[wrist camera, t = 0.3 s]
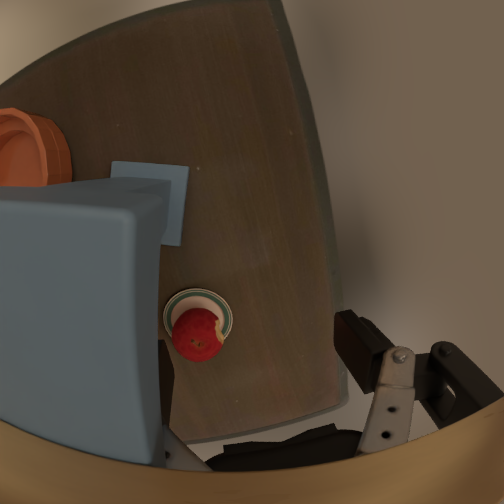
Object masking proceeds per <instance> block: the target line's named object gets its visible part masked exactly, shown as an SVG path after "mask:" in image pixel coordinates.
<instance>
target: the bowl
mask: <svg viewBox="0 0 504 504" xmlns="http://www.w3.org/2000/svg"><path fill="white" fill-rule="evenodd" d="M69 182H72V165H71V155H70V150H69V148H68V145H67V142H66V140H65V137H64V134H63V132H62V131H61V130H60V129H59V128H58V127H57V125H56V124H55V123H54V122H53V121H52V120H51V119H49V118H46V117H44V116H42V115H40V114H36V113H33V112H29V111H25V110H21V109H16V108H6V109H0V186H22V187H41V186H47V185H54V184H61V183H69Z"/></svg>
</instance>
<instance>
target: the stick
mask: <svg viewBox="0 0 504 504" xmlns="http://www.w3.org/2000/svg"><path fill="white" fill-rule="evenodd" d="M503 500H504V397H502V398H500V399H499V400H497V401H495V402H494V403H492V404H490V405H488V406H487V407H485V408H483V409H481V410H479V411H477V412H476V413H474V414H472V415H470V416H468V417H466V418H464V419H462V420H460V421H457V422H455V423H453V424H451V425H449V426H447V427H444V428H442V429H440V430H437V431H435V432H432V433H430V434H427V435H425V436H422V437H420V438H417V439H414V440H411V441H409V442H406V443H403V444H400V445H397V446H394V447H390V448H387V449H384V450H380V451H377V452H373V453H369V454H366V455H362V456H358V457H353V458H349V459H344V460H340V461H335V462H329V463H324V464H318V465H312V466H305V467H297V468H288V469H278V470H266V471H246V472H211V471H191V470H178V469H169V468H160V467H153V466H146V465H140V464H134V463H128V462H123V461H118V460H114V459H109V458H105V457H101V456H97V455H93V454H89V453H85V452H82V451H78V450H75V449H72V448H69V447H66V446H63V445H60V444H57V443H54V442H51V441H48V440H46V439H43V438H40V437H38V436H35V435H33V434H30V433H28V432H26V431H23V430H21V429H19V428H17V427H14V426H12V425H10V424H8V423H6V422H4V421H2V420H0V504H499V503H500V502H502V501H503Z"/></svg>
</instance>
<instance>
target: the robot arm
mask: <svg viewBox="0 0 504 504" xmlns="http://www.w3.org/2000/svg"><path fill="white" fill-rule="evenodd" d="M334 346H335V349H336V351H337V353H338V355H339V356H340V358H341V359H342V361H343V362H344V364H345V365H346V367H347V368H348V370H349V371H350V373H351V374H352V376H353V377H354V379H355V380H356V382H357V383H358V385H359V386H360V388H361V389H362V391H363V393H364V394H368V393H371V392H374V397H373V401H372V404H371V408H370V411H369V414H368V418H367V421H366V424H365V427H364V431H363V432H360V431H355V430H337V428H336V426H335V424H334V423H332V424H329V425H325V426H322V427H318V428H314V429H310V430H307V431H305V432H303V433H301V434H299V435H296V436H295V437H292V438H290V439H287V440H285V441H282V442H253V441H251V442H244V443H237V444H229V445H223V448H224V453H221V454H218V455H216V456H214V457H212V458H210V459H208V460H207V461H205V462H203V461H202V460H201V459H200V458H199V457H198V456H197V455H196V454H195V453H194V452H192V451H191V450H190V449H189V448H188V447H187V446H186V445H185V444H184V443H183V442H182V441H181V440H180V439H179V438H178V437H177V436H176V435H175V434H174V433H173V432H172V431H171V429H170V428H169V422H170V412H171V402H172V394H173V385H174V368H173V364H172V361H171V358H170V355H169V352H168V349H167V346H166V343H165V341H164V340H158V369H159V390H160V406H161V419H162V430H163V439H164V448H165V457H166V464H167V468H169V469H178V470H191V471H211V472H246V471H266V470H278V469H288V468H297V467H305V466H312V465H318V464H324V463H329V462H335V461H340V460H344V459H349V458H353V457H358V456H362V455H366V454H369V453H373V452H377V451H380V450H384V449H387V448H390V447H394V446H397V445H400V444H403V443H406V442H408V438H409V432H410V426H411V420H412V413H413V405H414V401H415V400H419V401H420V403H421V404H422V406H423V407H424V408H425V410H426V411H427V413H428V414H429V416H430V417H431V418H432V420H433V421H434V423H435V424H436V425H437V427H438V429H439V430H440V429H442V428H444V427H447V426H449V425H451V424H453V423H455V422H457V421H460V420H462V419H464V418H466V417H468V416H470V415H472V414H474V413H476V412H477V411H479V410H481V409H483V408H485V407H487V406H488V405H490V404H492V403H494V402H495V401H497V400H499V399H500V398H502V397H504V393H503V392H502V391H501V390H500V389H499V388H498V387H497V386H496V384H494V383H493V381H492V380H491V379H490V378H489V377H488V376H487V375H486V374H484V372H483V371H482V370H481V369H480V368H478V367H477V365H476V364H474V363H473V362H472V361H471V360H470V359H469V358H468V357H467V356H466V355H465V354H464V353H463V352H462V351H461V350H460V349H459V348H458V347H457V346H456V345H454V344H453V343H450V342H446V341H441V342H437V343H435V344H433V345H432V347H431V351H430V353H424V354H416V355H415V354H414V353H413V351H412V350H410V349H408V348H406V347H401V346H397V347H396V346H395V345H394V344H393V343H391V341H390V340H389V339H388V338H387V337H386V336H385V335H384V334H383V333H382V332H381V331H380V330H379V329H378V328H376V326H375V325H374V324H373V323H372V322H371V321H370V320H368V319H366V318H364V317H358V316H357V315H356V314H355V313H354V312H353V311H352V310H351V309H350V310H345V311H341V312H336V313H335V316H334ZM447 385H449V386H450V387H451V388H452V390H453V391H454V393H455V396H456V398H455V397H454V395H453V394H452V393H451V392H450V391H449V389H448V388H447Z"/></svg>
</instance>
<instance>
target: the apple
mask: <svg viewBox="0 0 504 504" xmlns="http://www.w3.org/2000/svg"><path fill="white" fill-rule="evenodd" d="M163 319H164V325H165V328H166V330H167V332H168V333H169V335H170V336H171V337H172V342H173V345H174V347H175V349H176V350H177V351H178V353H179V354H180V355H182V356H183V357H184V358H186V359H188V360H190V361H194V362H202V361H207V360H209V359H211V358H212V357H214V356H215V355H216V354H217V353H218V352H219V351H220V349H221V348H222V346H223V342H224V339H225V338H226V337H227V335H228V334H229V332H230V330H231V327H232V313H231V310H230V308H229V306H228V304H227V303H226V302H225V300H224V299H223V298H222V297H220V296H219V295H217V294H216V293H214V292H212V291H209V290H205V289H197V288H194V289H188V290H184V291H181V292H179V293H177V294H176V295H175V296H173V297H172V298H171V299H170V301H169V302H168V303H167V305H166V307H165V310H164V316H163Z"/></svg>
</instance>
